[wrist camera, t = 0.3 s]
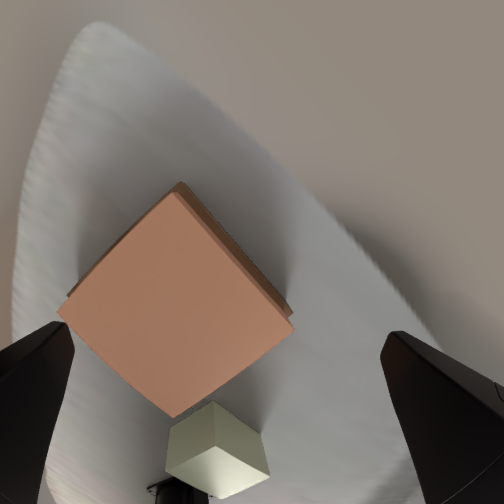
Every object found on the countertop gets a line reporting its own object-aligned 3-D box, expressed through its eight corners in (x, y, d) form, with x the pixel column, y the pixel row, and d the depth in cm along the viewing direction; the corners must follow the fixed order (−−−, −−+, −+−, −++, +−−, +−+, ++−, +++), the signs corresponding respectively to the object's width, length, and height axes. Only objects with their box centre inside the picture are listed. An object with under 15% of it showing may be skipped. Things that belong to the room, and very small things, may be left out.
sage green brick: (218, 458, 26) (221, 499, 21) (169, 427, 25) (165, 471, 19) (260, 434, 26) (270, 476, 20) (213, 399, 25) (215, 445, 19)
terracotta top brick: (176, 394, 21) (173, 418, 18) (74, 297, 19) (56, 312, 16) (284, 311, 21) (294, 329, 18) (178, 192, 18) (171, 192, 16)
